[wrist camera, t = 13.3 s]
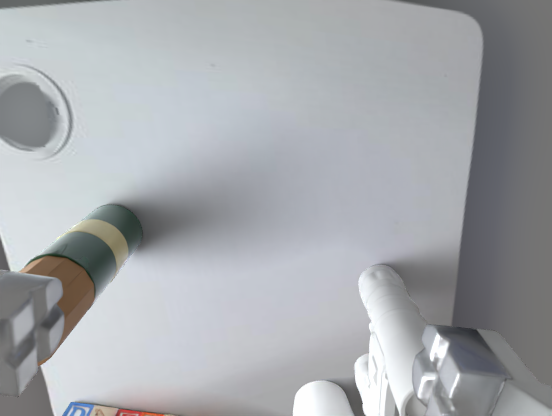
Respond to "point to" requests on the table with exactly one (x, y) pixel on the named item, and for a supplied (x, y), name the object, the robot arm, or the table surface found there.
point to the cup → (321, 400)
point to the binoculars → (389, 345)
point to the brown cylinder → (66, 289)
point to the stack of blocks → (102, 411)
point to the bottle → (99, 244)
